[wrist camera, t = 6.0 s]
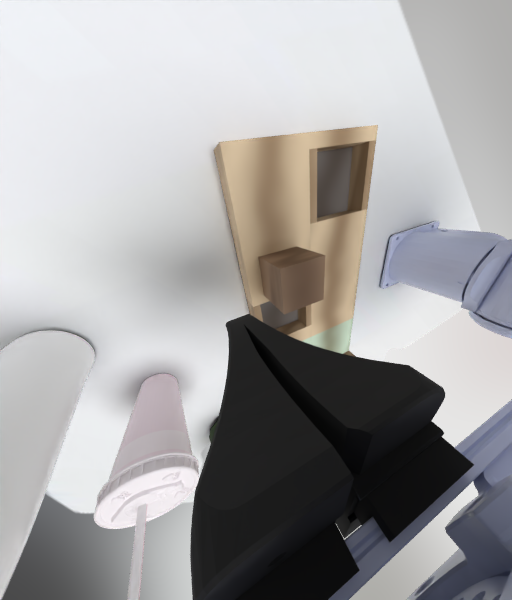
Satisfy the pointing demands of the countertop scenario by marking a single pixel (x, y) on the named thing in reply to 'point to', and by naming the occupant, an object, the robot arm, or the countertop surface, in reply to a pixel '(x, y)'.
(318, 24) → the countertop surface
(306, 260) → the block
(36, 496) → the drinking glass
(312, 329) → the wooden board
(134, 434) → the smoothie
